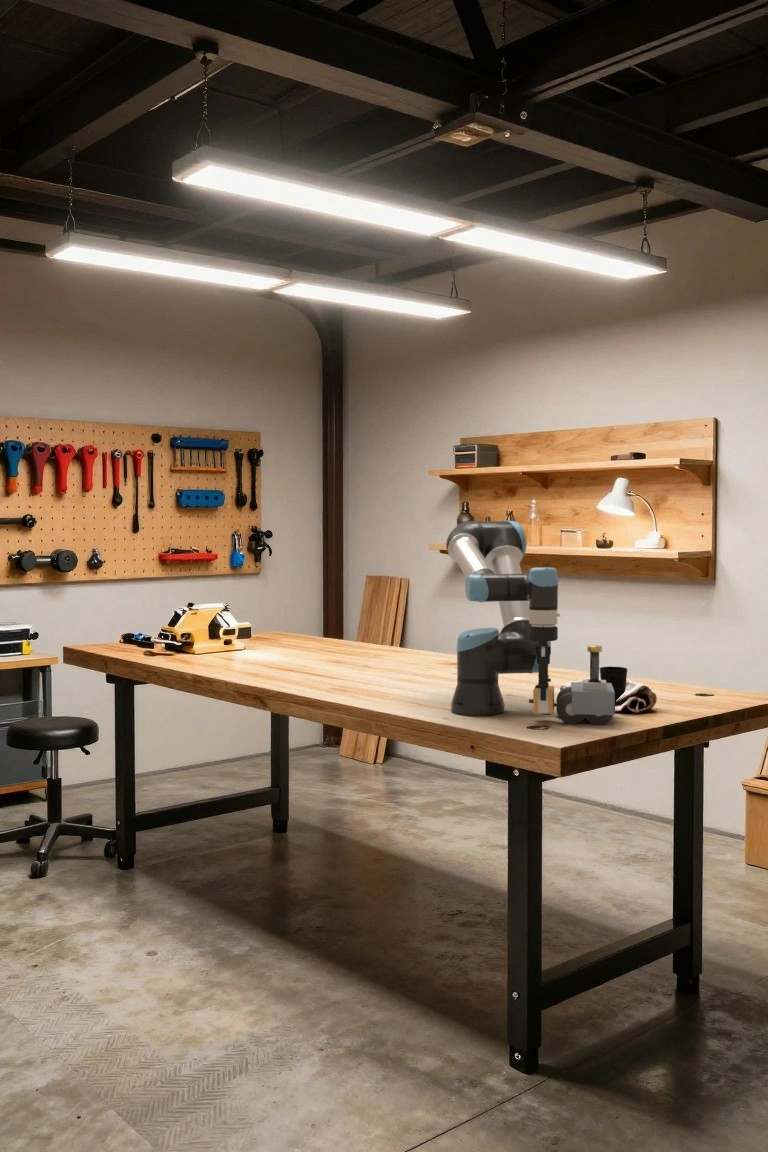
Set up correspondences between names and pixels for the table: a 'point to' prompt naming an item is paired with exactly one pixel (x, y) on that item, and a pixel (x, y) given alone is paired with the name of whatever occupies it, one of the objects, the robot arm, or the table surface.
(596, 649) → the pin
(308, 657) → the table surface
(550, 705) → the block
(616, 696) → the cup
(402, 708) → the table surface
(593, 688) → the trolley
